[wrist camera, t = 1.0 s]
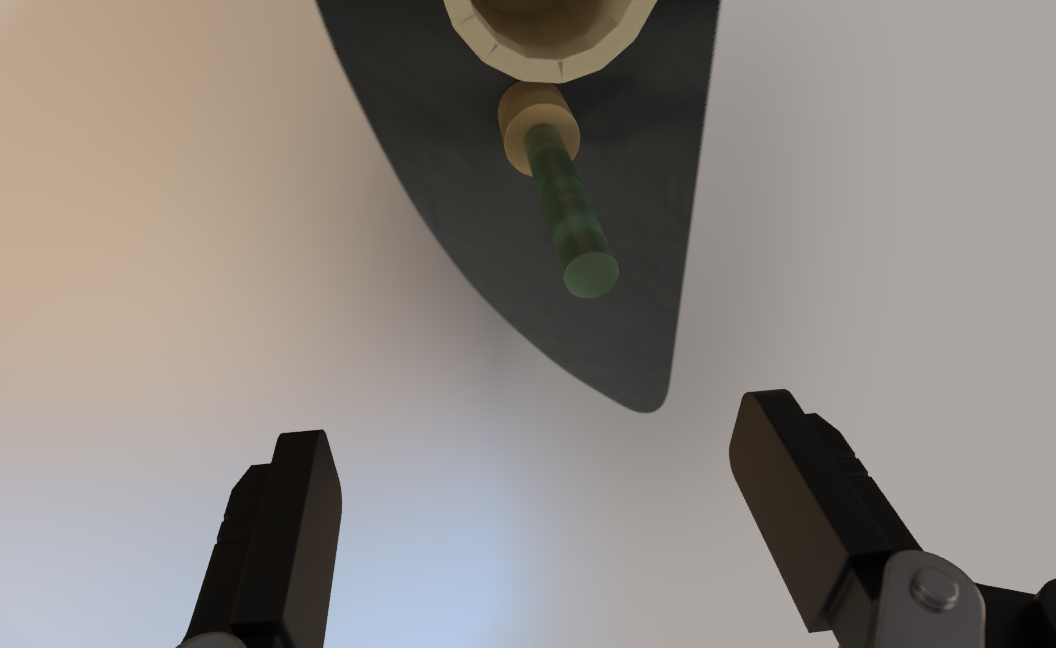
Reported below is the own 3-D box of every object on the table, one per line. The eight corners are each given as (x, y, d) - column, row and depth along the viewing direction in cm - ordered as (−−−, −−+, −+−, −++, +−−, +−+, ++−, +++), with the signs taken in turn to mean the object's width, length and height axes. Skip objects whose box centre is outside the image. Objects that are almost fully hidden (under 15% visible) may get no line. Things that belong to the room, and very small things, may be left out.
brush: (516, 65, 35) (571, 209, 21) (578, 96, 36) (667, 250, 23) (485, 129, 37) (517, 300, 23) (545, 157, 38) (609, 333, 25)
